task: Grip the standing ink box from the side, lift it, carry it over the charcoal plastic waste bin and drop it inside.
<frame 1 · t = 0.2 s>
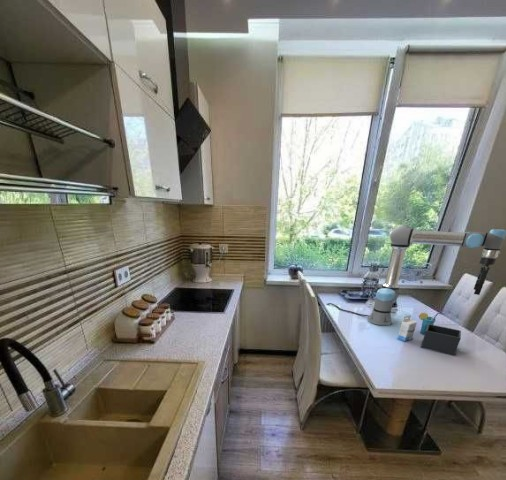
hand: (476, 292, 172), 28 cm above the table, tool pointing down, fingers open, 13 cm apart
ink box: (404, 339, 174), on the table
cup: (426, 333, 182), on the table
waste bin: (437, 347, 163), on the table
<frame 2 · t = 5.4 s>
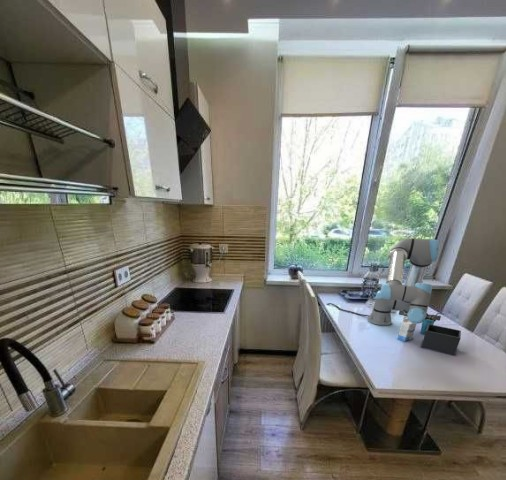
hand: (419, 315, 161), 18 cm above the table, tool tilted 75°, fingers open, 13 cm apart
nothing on the table moved.
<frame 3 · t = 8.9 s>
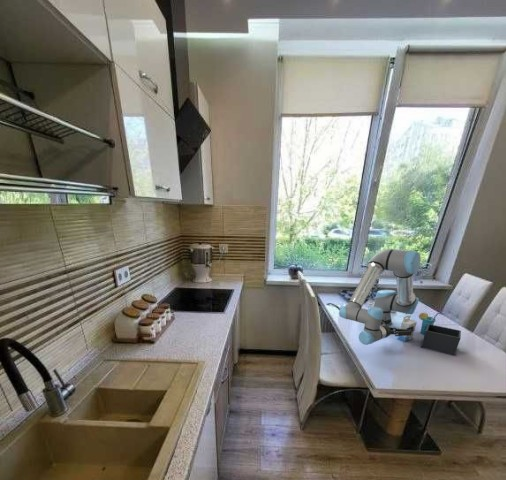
hand: (401, 324, 164), 12 cm above the table, tool horizontal, fingers open, 13 cm apart
nothing on the table moved.
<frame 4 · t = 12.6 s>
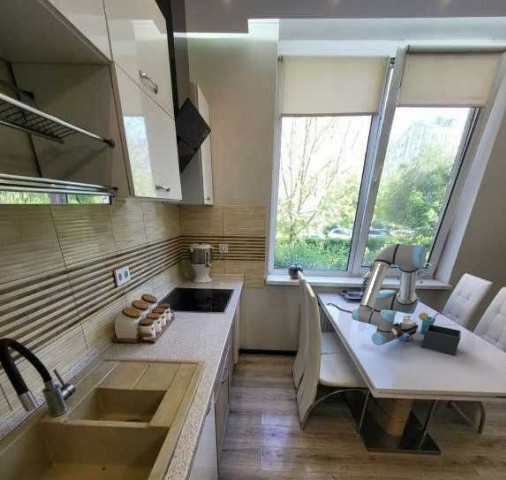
hand: (412, 325, 173), 8 cm above the table, tool horizontal, fingers closed on ink box, 5 cm apart
ink box: (404, 339, 174), on the table, touching gripper
everything else where it was.
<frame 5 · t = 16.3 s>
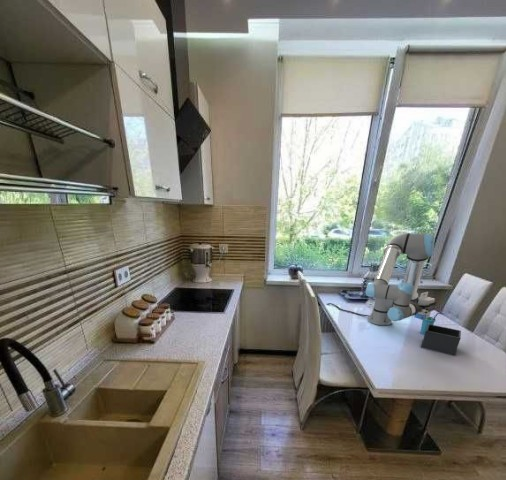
hand: (429, 303, 163), 24 cm above the table, tool horizontal, fingers closed on ink box, 5 cm apart
ink box: (421, 317, 164), point 16 cm above the table, touching gripper
everything else where it was.
when the fingers open (18 cm above the table, at t = 20.0 s): ink box drops 8 cm, resting on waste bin.
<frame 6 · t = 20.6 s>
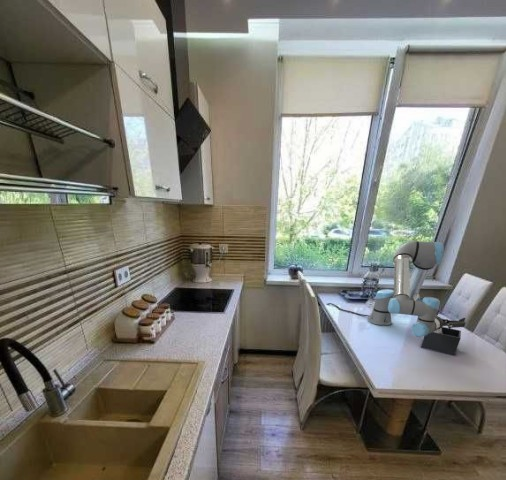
hand: (450, 316, 157), 19 cm above the table, tool horizontal, fingers open, 13 cm apart
ink box: (438, 344, 163), point 2 cm above the table, touching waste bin
everything else where it was.
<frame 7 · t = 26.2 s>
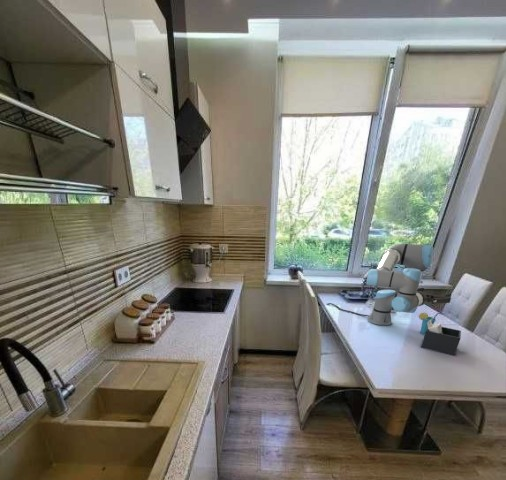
hand: (435, 293, 146), 34 cm above the table, tool horizontal, fingers open, 13 cm apart
nothing on the table moved.
at the end: ink box inside the target area in the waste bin (0.8 cm from its centre), point 1.6 cm above the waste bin's base; the gripper is holding nothing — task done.
